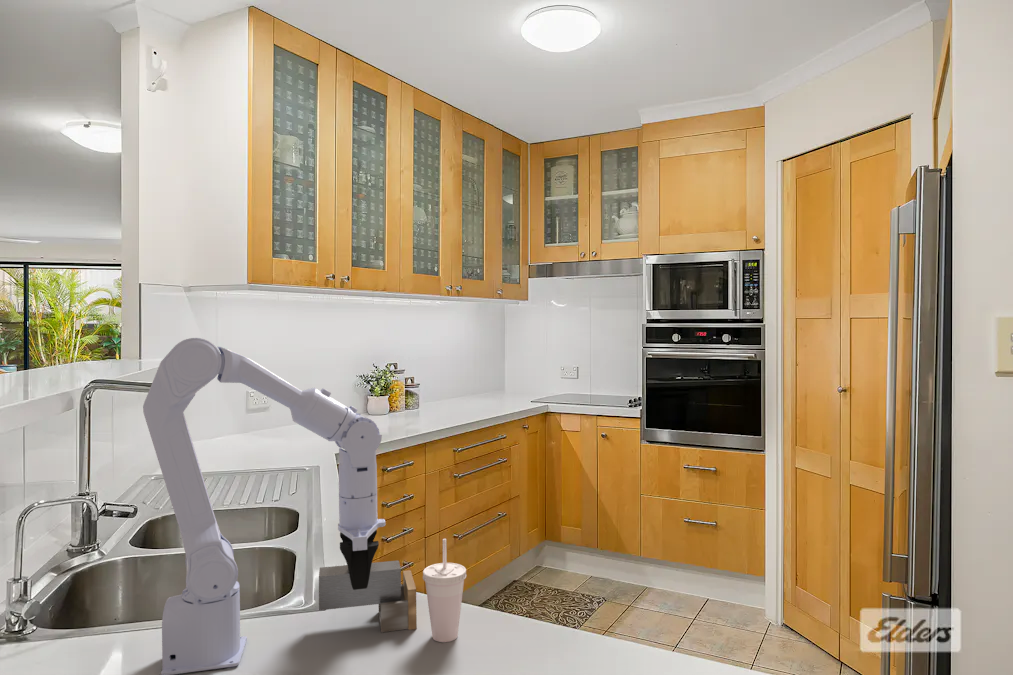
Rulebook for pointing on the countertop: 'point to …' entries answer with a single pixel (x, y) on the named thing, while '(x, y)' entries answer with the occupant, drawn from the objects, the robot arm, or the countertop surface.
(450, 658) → the countertop surface
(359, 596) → the grey rectangular block
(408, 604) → the bracket
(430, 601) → the smoothie
